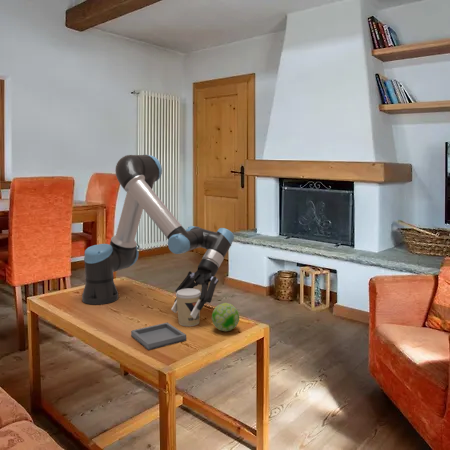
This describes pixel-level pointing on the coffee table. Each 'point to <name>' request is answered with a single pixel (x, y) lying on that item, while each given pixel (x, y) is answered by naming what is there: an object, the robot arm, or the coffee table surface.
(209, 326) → the coffee table surface
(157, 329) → the tray
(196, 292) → the coffee cup
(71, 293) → the coffee table surface
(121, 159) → the robot arm
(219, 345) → the coffee table surface
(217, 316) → the decorative ball
